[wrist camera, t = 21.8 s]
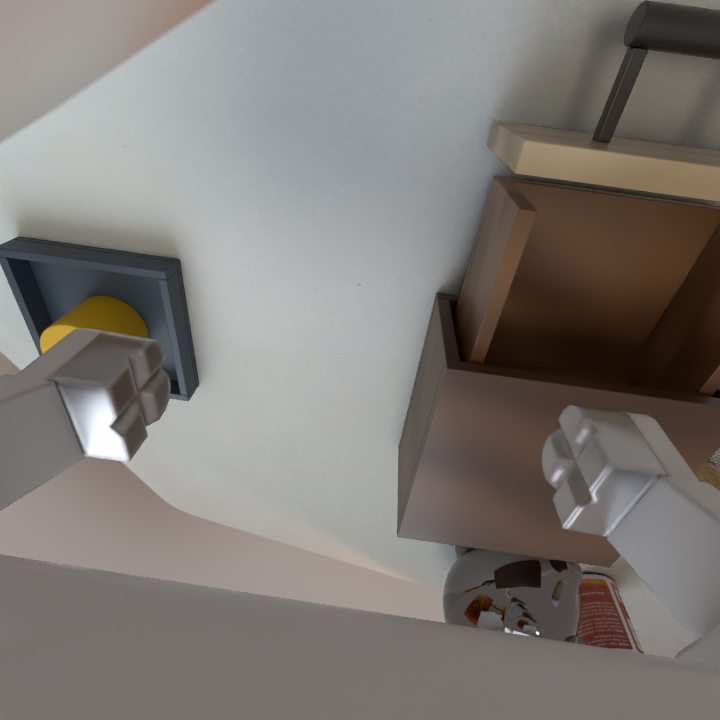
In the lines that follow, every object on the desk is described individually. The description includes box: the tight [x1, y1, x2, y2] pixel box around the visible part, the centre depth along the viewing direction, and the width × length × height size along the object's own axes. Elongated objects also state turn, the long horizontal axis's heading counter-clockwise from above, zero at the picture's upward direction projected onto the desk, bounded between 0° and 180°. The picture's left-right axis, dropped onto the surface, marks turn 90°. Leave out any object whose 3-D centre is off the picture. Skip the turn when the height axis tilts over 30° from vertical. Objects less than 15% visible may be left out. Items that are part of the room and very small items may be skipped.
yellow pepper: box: [40, 295, 149, 353], centre depth 29 cm, size 5×5×5 cm
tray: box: [0, 237, 199, 401], centre depth 31 cm, size 11×11×2 cm
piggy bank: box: [443, 545, 588, 645], centre depth 39 cm, size 11×15×12 cm
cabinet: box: [397, 293, 720, 567], centre depth 29 cm, size 16×16×9 cm
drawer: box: [453, 1, 720, 397], centre depth 21 cm, size 19×14×7 cm
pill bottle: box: [578, 574, 644, 654], centre depth 43 cm, size 6×6×11 cm
